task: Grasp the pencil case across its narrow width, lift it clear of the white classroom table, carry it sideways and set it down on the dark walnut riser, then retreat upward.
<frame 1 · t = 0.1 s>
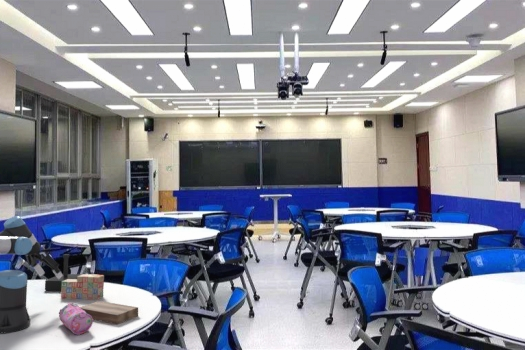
hand: (51, 275, 199), 15 cm above the table, tool tilted 35°, fingers open, 13 cm apart
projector: (66, 288, 239), on the table
pencil case: (74, 328, 167), on the table
walnut riser: (107, 316, 183), on the table
stack of blocks: (82, 298, 216), on the table
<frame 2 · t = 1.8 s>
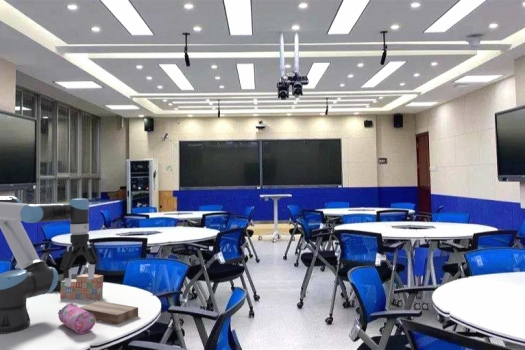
hand: (79, 282, 172), 18 cm above the table, tool pointing down, fingers open, 13 cm apart
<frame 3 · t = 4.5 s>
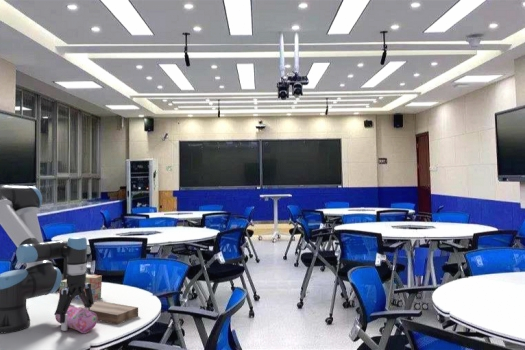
hand: (75, 326, 167), 1 cm above the table, tool pointing down, fingers closed on pencil case, 10 cm apart
pencil case: (75, 328, 167), on the table, touching gripper
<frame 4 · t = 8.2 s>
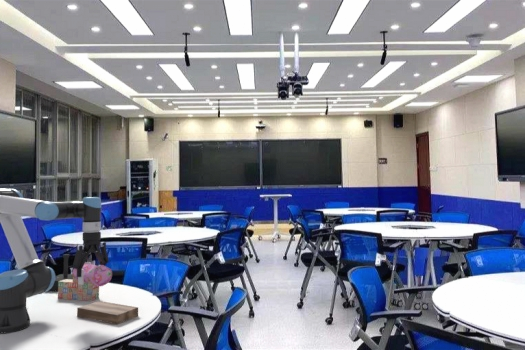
hand: (91, 281, 174), 18 cm above the table, tool pointing down, fingers closed on pencil case, 10 cm apart
pencil case: (91, 284, 174), point 17 cm above the table, touching gripper
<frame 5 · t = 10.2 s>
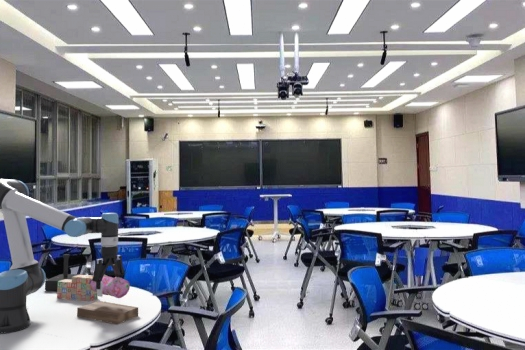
hand: (108, 293, 184), 10 cm above the table, tool pointing down, fingers closed on pencil case, 10 cm apart
pencil case: (109, 295, 184), point 10 cm above the table, touching gripper
when the fingers open (6 cm above the table, at t = 11.9 s): pencil case drops 1 cm, resting on walnut riser.
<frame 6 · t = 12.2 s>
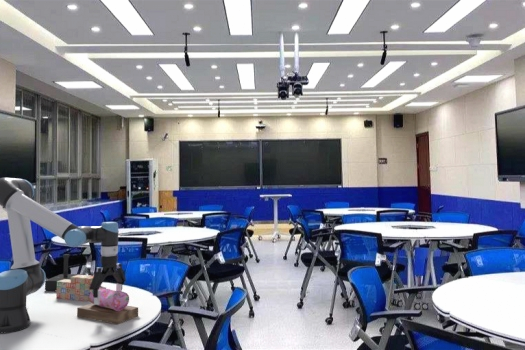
hand: (108, 301, 184), 7 cm above the table, tool pointing down, fingers open, 12 cm apart
pencil case: (108, 308, 184), point 4 cm above the table, touching walnut riser
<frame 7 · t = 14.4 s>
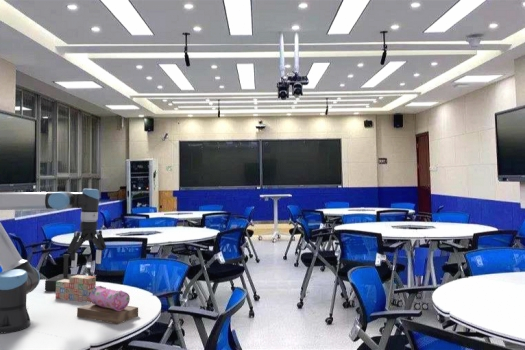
hand: (86, 265, 187), 23 cm above the table, tool pointing down, fingers open, 13 cm apart
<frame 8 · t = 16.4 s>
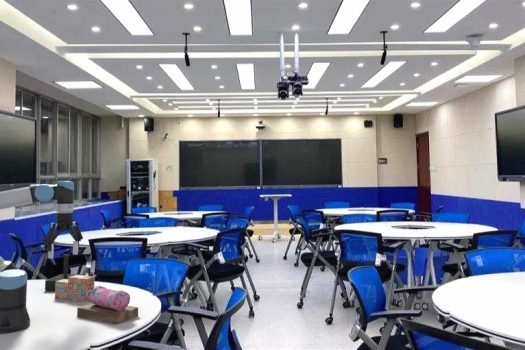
hand: (63, 256, 191), 27 cm above the table, tool pointing down, fingers open, 13 cm apart
at the end: pencil case inside the target area on the walnut riser (0.3 cm from its centre), point 3.8 cm above the walnut riser's base; pencil case tilted 0°; the gripper is holding nothing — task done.
